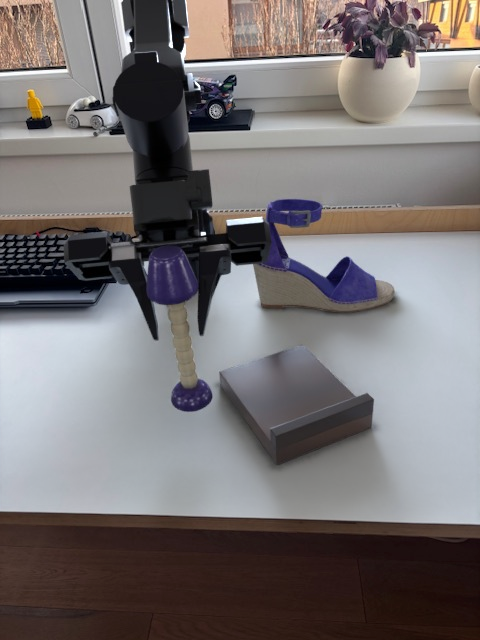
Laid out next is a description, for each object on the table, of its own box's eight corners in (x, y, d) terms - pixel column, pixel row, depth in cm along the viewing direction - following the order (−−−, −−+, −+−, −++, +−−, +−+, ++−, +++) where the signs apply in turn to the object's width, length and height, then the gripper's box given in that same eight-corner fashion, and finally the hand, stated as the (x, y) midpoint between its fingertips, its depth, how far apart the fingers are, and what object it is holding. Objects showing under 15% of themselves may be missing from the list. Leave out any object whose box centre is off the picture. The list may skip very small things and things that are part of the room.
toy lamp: (197, 420, 53) (177, 266, 44) (156, 408, 55) (129, 258, 46) (219, 390, 56) (205, 243, 47) (181, 380, 58) (159, 236, 49)
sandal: (398, 314, 74) (410, 208, 66) (253, 314, 76) (247, 212, 68) (391, 286, 80) (400, 187, 73) (257, 286, 83) (252, 191, 75)
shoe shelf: (220, 385, 63) (217, 358, 61) (302, 357, 67) (302, 331, 65) (276, 465, 52) (275, 436, 50) (371, 427, 56) (374, 399, 54)
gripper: (40, 146, 45) (47, 330, 41) (265, 126, 46) (289, 305, 42) (76, 204, 56) (84, 354, 52) (257, 187, 57) (276, 333, 53)
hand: (178, 337), depth 50 cm, fingers closed on toy lamp, 4 cm apart
